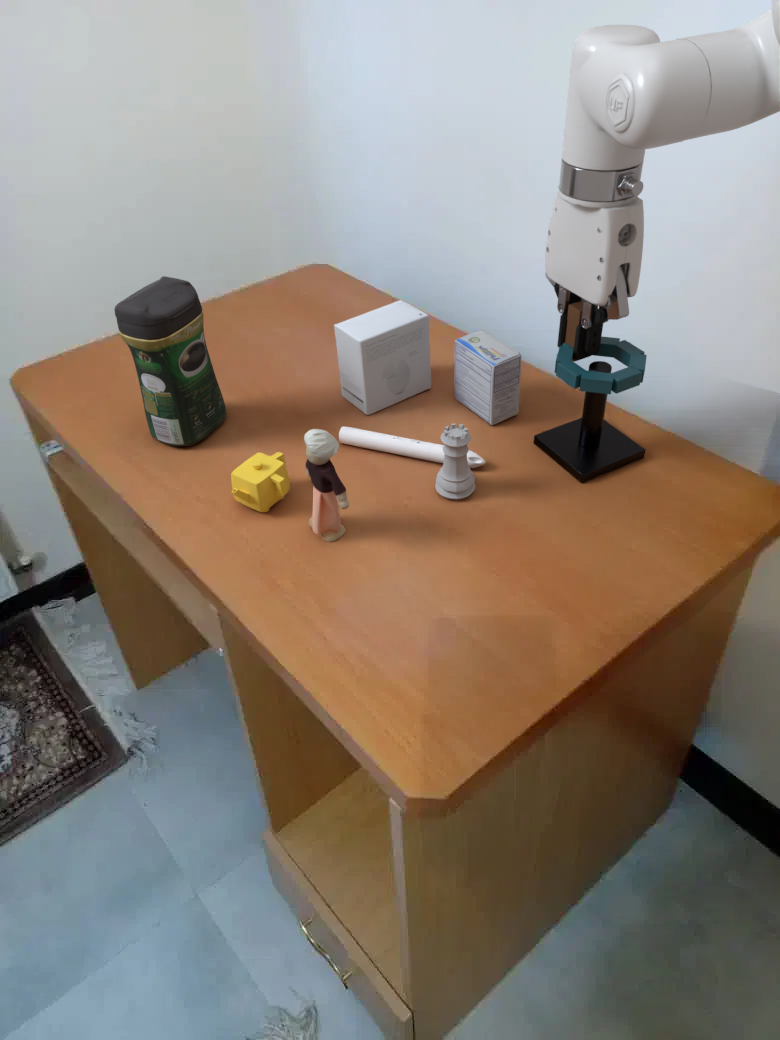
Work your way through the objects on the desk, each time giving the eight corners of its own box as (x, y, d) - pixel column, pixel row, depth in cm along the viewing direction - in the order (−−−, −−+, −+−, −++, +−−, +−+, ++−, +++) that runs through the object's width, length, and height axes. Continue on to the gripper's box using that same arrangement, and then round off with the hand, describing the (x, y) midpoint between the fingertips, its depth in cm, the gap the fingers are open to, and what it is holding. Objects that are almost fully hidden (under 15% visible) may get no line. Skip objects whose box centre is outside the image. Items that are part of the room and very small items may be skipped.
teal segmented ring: (661, 377, 84) (672, 325, 80) (593, 402, 81) (600, 350, 77) (603, 340, 90) (611, 291, 86) (537, 362, 87) (542, 312, 83)
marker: (488, 464, 91) (489, 448, 90) (483, 475, 90) (483, 458, 88) (346, 436, 97) (344, 420, 95) (339, 446, 95) (337, 430, 94)
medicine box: (519, 415, 98) (523, 353, 93) (490, 427, 97) (493, 365, 91) (480, 388, 104) (483, 328, 98) (453, 399, 102) (453, 338, 96)
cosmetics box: (403, 369, 108) (400, 297, 101) (432, 388, 104) (431, 315, 97) (339, 395, 104) (331, 322, 97) (366, 416, 100) (361, 342, 93)
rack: (644, 458, 91) (662, 373, 83) (581, 483, 88) (594, 397, 80) (593, 420, 97) (605, 338, 90) (533, 443, 94) (541, 360, 87)
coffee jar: (189, 401, 104) (155, 265, 92) (237, 415, 101) (209, 277, 89) (139, 440, 98) (95, 300, 86) (189, 456, 95) (151, 313, 83)
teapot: (262, 531, 84) (254, 494, 81) (223, 512, 87) (214, 475, 83) (309, 491, 89) (304, 454, 86) (271, 474, 92) (264, 438, 88)
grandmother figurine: (292, 523, 85) (276, 425, 77) (319, 506, 87) (306, 409, 79) (340, 557, 81) (329, 457, 72) (367, 538, 83) (359, 438, 74)
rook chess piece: (476, 501, 86) (478, 441, 81) (435, 502, 87) (435, 443, 81) (474, 476, 90) (476, 417, 84) (434, 477, 90) (434, 418, 85)
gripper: (690, 194, 71) (654, 372, 83) (578, 150, 82) (560, 313, 94) (625, 212, 69) (597, 393, 81) (518, 164, 80) (508, 330, 92)
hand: (578, 349), depth 87 cm, fingers closed on teal segmented ring
